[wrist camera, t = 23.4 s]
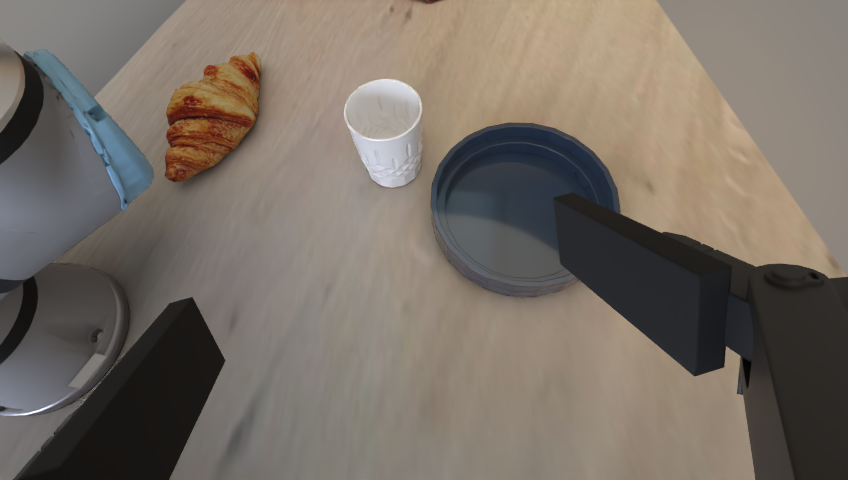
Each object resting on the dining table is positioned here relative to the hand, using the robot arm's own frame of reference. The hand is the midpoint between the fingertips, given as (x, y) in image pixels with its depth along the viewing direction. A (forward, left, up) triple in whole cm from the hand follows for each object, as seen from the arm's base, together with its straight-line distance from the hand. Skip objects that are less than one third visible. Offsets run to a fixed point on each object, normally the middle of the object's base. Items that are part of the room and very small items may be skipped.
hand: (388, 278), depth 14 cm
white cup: (-20, +13, -28) cm, 37 cm away
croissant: (-40, +1, -28) cm, 49 cm away
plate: (-5, +19, -28) cm, 34 cm away
